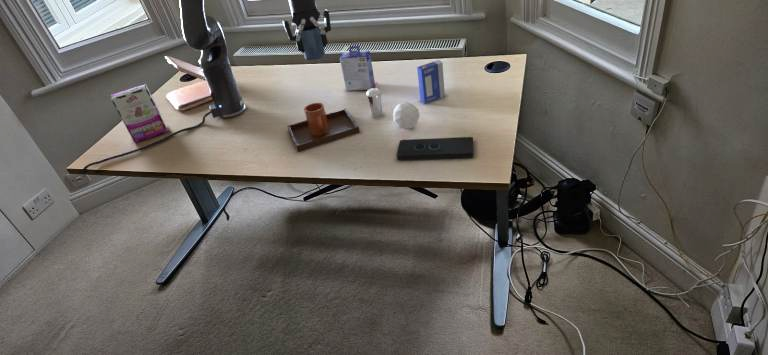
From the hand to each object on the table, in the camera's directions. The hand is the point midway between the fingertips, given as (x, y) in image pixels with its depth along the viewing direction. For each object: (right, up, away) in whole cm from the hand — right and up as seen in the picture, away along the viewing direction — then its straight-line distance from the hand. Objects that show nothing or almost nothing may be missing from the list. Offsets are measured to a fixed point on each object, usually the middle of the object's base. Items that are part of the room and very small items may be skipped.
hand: (313, 49), depth 143 cm
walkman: (+37, -14, +8) cm, 41 cm away
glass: (0, -2, +1) cm, 2 cm away
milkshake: (+20, -20, +4) cm, 28 cm away
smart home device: (+35, -32, -17) cm, 51 cm away
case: (-50, -8, +39) cm, 64 cm away
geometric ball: (+29, -24, -4) cm, 38 cm away
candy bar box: (-58, -25, +16) cm, 65 cm away
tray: (+3, -25, 0) cm, 26 cm away
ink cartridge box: (+13, -7, +24) cm, 28 cm away
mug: (+2, -26, -1) cm, 26 cm away
